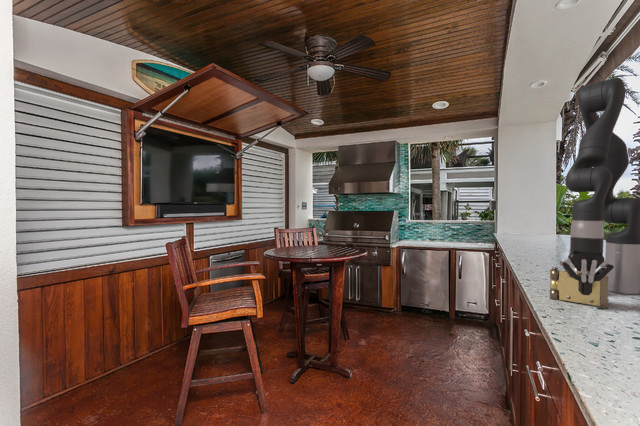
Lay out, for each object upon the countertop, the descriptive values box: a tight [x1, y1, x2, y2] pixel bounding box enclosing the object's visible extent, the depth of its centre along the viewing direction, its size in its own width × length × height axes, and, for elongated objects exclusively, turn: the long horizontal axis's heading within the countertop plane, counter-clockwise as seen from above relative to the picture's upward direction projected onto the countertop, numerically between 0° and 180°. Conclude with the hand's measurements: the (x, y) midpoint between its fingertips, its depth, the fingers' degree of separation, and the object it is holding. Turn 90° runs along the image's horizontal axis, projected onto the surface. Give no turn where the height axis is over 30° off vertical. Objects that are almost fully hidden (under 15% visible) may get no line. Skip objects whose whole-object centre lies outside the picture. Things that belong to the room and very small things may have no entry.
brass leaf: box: [549, 270, 600, 307], centre depth 102 cm, size 12×3×9 cm, turn 46°
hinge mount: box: [549, 266, 610, 309], centre depth 104 cm, size 8×14×10 cm, turn 46°
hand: (584, 294), depth 96 cm, fingers closed
